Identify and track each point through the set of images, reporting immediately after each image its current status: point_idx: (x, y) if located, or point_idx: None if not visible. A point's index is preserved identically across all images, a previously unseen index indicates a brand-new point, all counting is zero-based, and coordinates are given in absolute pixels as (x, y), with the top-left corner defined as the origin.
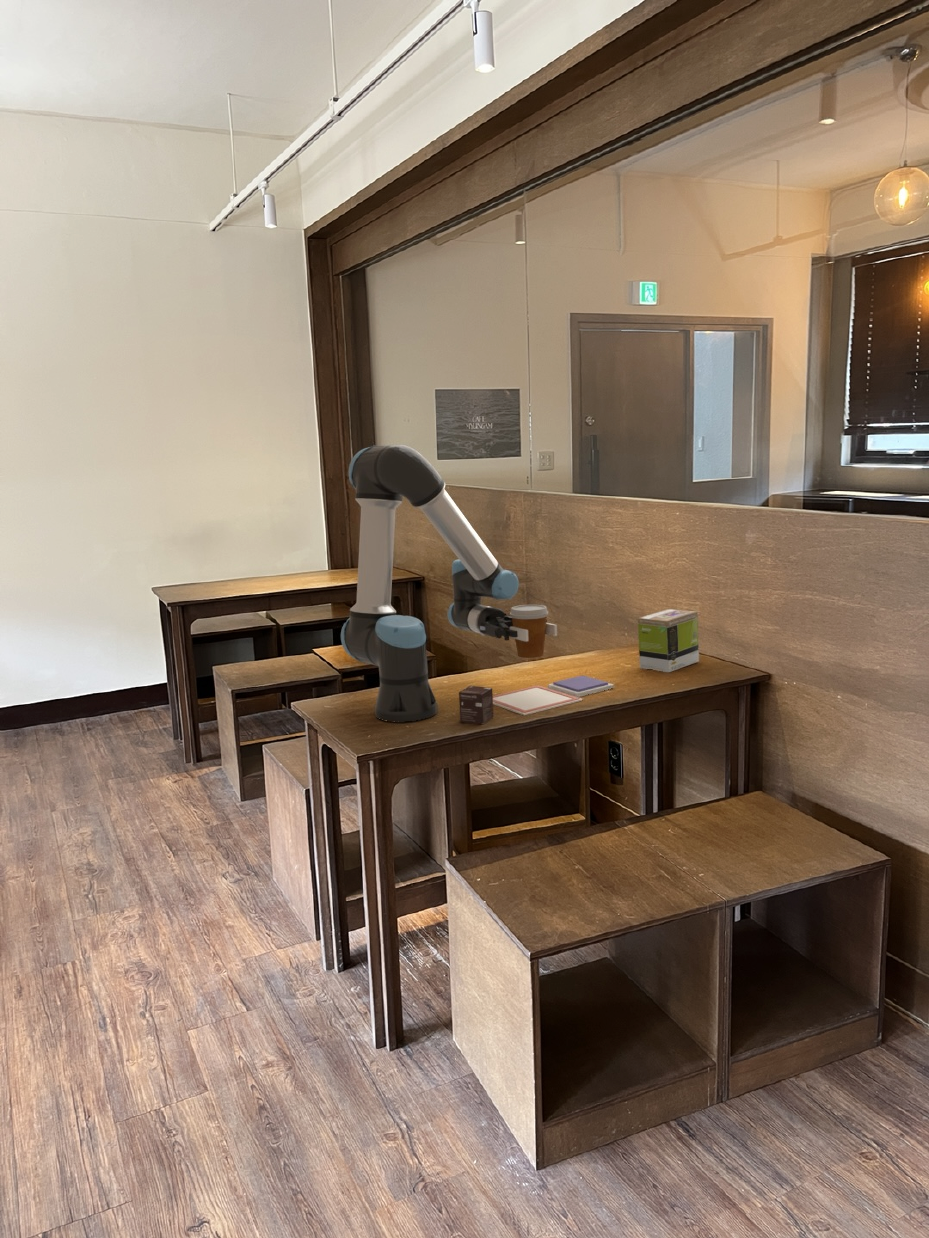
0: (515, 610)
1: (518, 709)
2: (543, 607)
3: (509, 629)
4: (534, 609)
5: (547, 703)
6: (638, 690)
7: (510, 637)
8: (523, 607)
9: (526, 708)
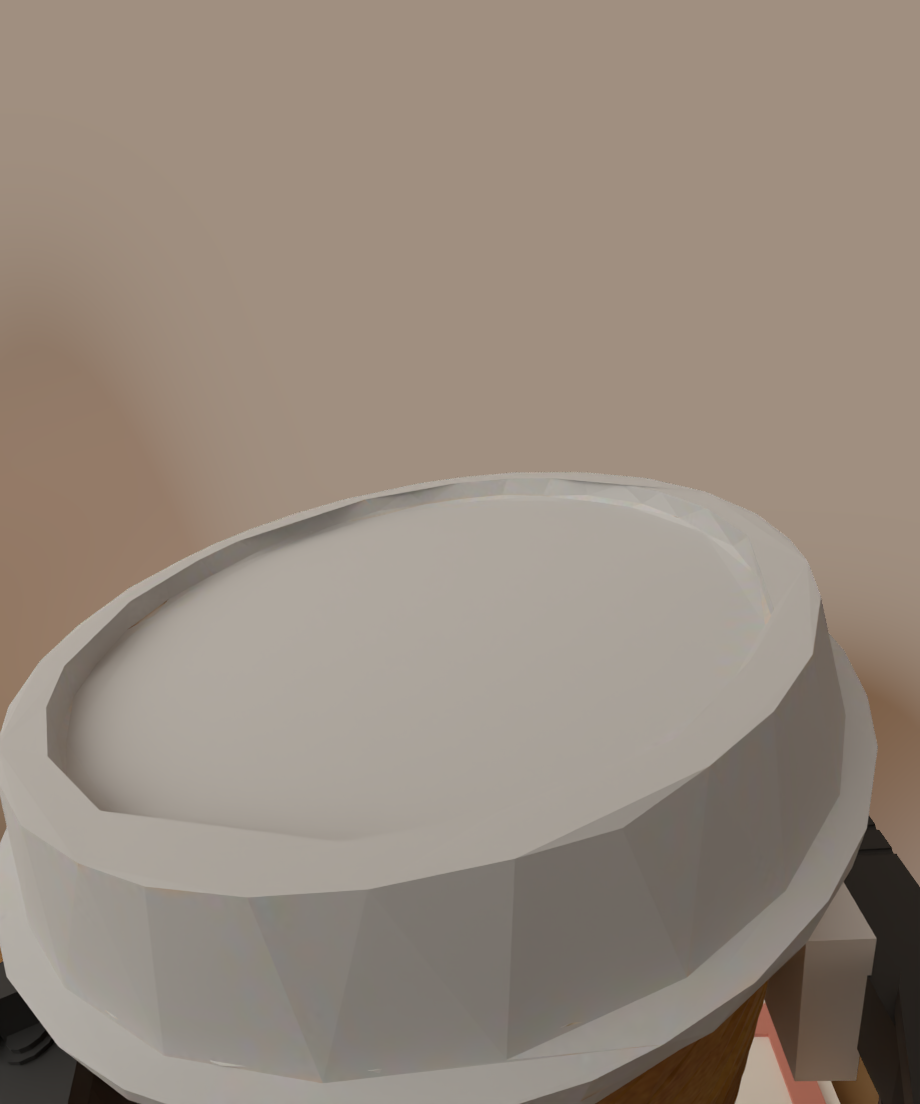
0: (770, 529)
1: (811, 1092)
2: (183, 594)
3: (880, 970)
4: (398, 555)
5: None
6: None
7: (850, 1059)
8: (330, 754)
9: (739, 1090)
